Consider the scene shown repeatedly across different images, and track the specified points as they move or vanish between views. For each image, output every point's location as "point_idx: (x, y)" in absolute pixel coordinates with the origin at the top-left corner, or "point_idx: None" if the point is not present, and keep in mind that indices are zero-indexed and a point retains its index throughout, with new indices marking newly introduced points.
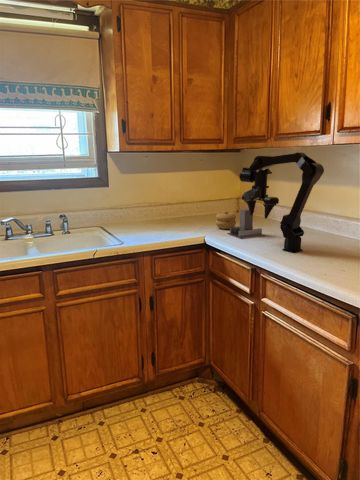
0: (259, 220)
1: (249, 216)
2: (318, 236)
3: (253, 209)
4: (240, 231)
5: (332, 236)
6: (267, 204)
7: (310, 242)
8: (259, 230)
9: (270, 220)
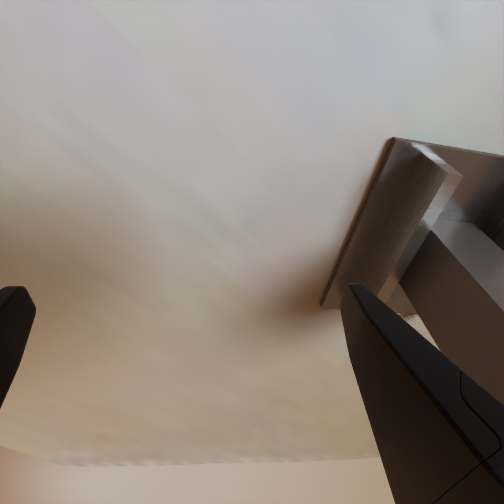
0: None
1: (478, 356)
2: (156, 426)
3: (371, 395)
4: (441, 180)
5: (130, 448)
6: None
7: (76, 364)
8: None
9: None
